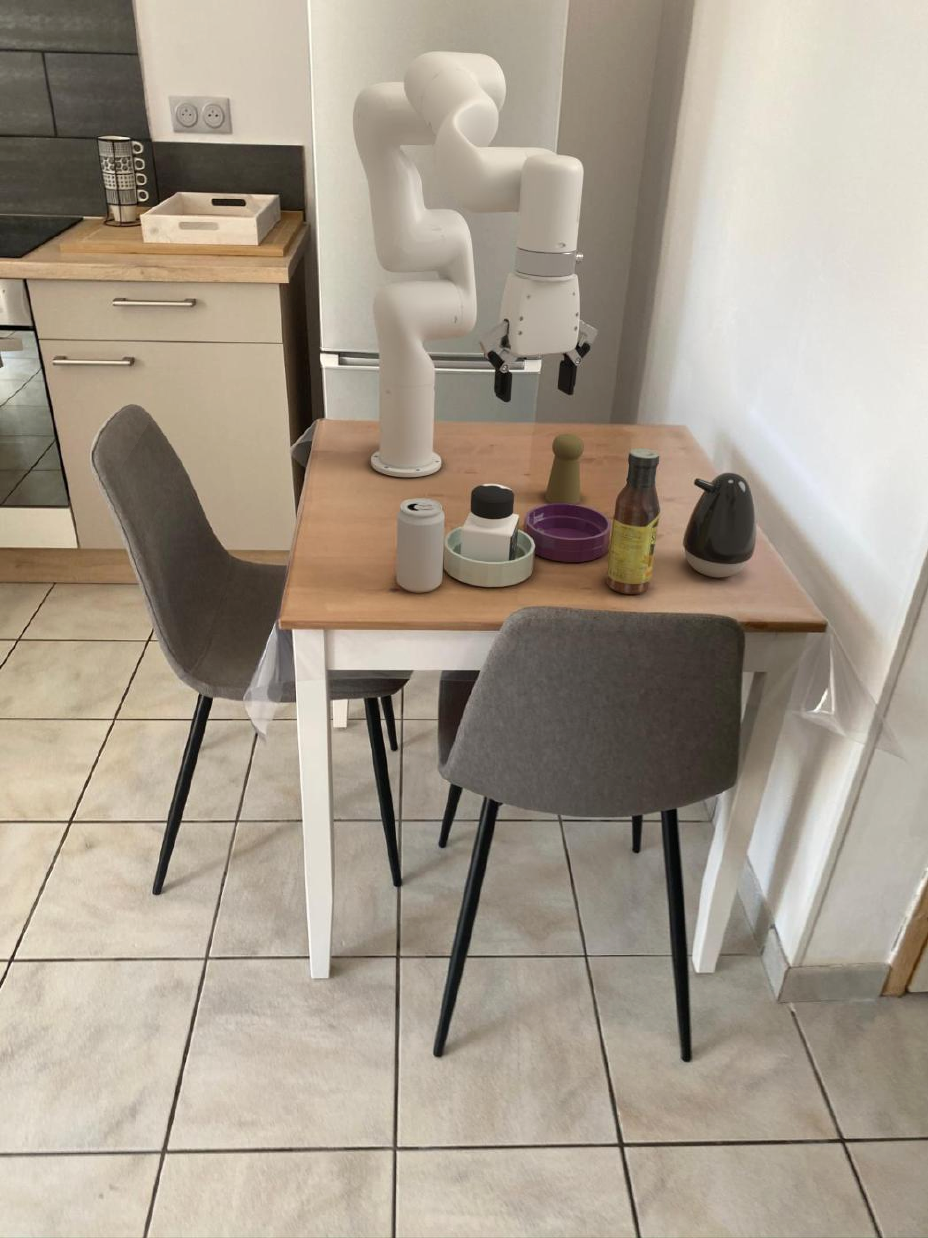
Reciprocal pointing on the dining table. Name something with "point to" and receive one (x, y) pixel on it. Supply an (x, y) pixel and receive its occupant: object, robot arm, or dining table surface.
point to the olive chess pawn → (565, 470)
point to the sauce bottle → (635, 526)
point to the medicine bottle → (490, 525)
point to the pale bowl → (488, 563)
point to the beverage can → (420, 544)
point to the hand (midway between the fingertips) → (534, 395)
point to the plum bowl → (568, 532)
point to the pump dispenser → (721, 526)
